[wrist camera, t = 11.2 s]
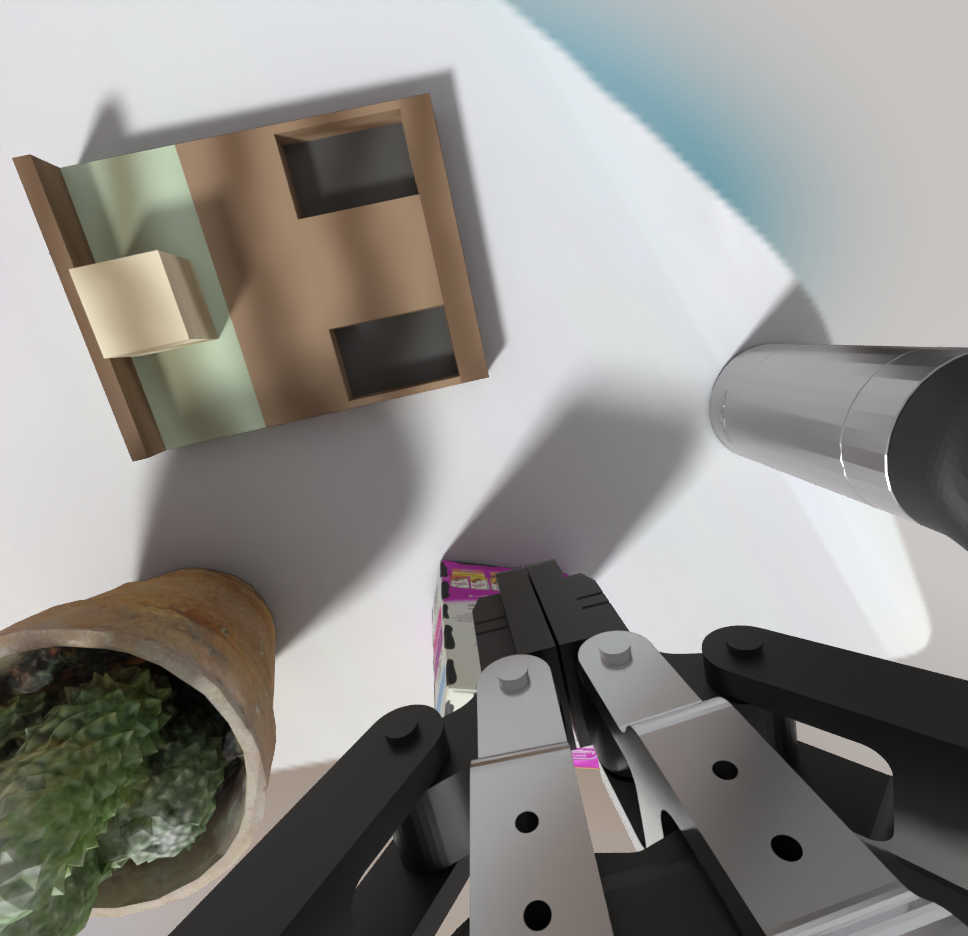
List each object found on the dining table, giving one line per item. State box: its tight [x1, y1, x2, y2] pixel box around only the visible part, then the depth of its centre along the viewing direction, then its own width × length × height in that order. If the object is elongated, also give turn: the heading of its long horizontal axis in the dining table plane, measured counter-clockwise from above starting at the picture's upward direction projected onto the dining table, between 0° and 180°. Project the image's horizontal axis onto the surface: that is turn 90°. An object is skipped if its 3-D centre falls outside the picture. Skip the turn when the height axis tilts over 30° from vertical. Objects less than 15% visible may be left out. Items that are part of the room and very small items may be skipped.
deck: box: [12, 93, 489, 461], centre depth 35 cm, size 24×18×5 cm
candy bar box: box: [432, 560, 600, 769], centre depth 37 cm, size 11×5×16 cm, turn 80°
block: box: [69, 250, 219, 358], centre depth 33 cm, size 5×5×4 cm
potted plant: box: [0, 568, 276, 936], centre depth 31 cm, size 18×19×25 cm
